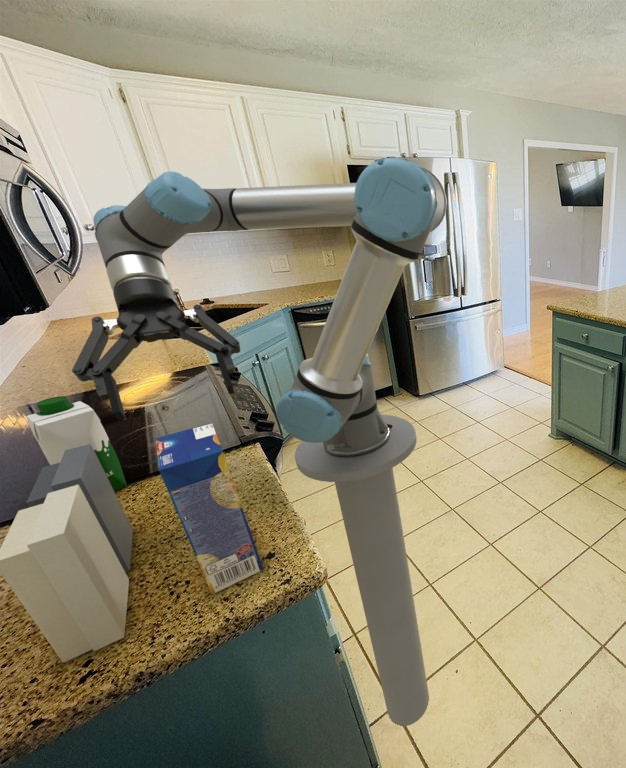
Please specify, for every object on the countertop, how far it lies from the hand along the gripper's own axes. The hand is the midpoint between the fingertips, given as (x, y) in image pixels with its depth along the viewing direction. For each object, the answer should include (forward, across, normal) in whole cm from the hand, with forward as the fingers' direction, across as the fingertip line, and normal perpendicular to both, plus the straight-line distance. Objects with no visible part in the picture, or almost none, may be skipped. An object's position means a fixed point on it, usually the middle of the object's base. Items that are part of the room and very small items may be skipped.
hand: (178, 402), depth 62 cm
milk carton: (-4, +19, -41) cm, 45 cm away
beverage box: (+24, 0, -12) cm, 27 cm away
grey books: (+14, +16, -22) cm, 31 cm away
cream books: (+24, +16, -12) cm, 31 cm away
